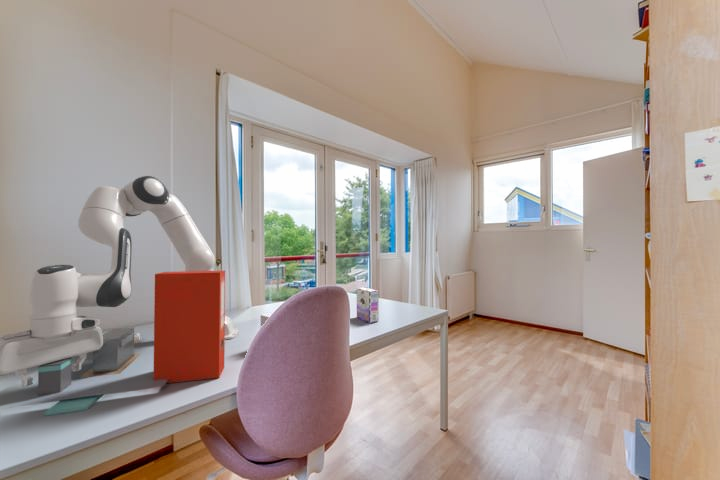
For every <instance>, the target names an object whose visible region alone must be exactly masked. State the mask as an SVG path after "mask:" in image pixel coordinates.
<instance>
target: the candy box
mask: <svg viewBox="0 0 720 480" xmlns="http://www.w3.org/2000/svg"><path fill="white" fill-rule="evenodd" d="M356 318H357V319H360V320H362V321H364V322H367V324H368V323H369V324H372V323H379V290H377V289H373V288H369V287H366V286H365V287H364V286H363V287H357V288H356Z"/></svg>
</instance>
